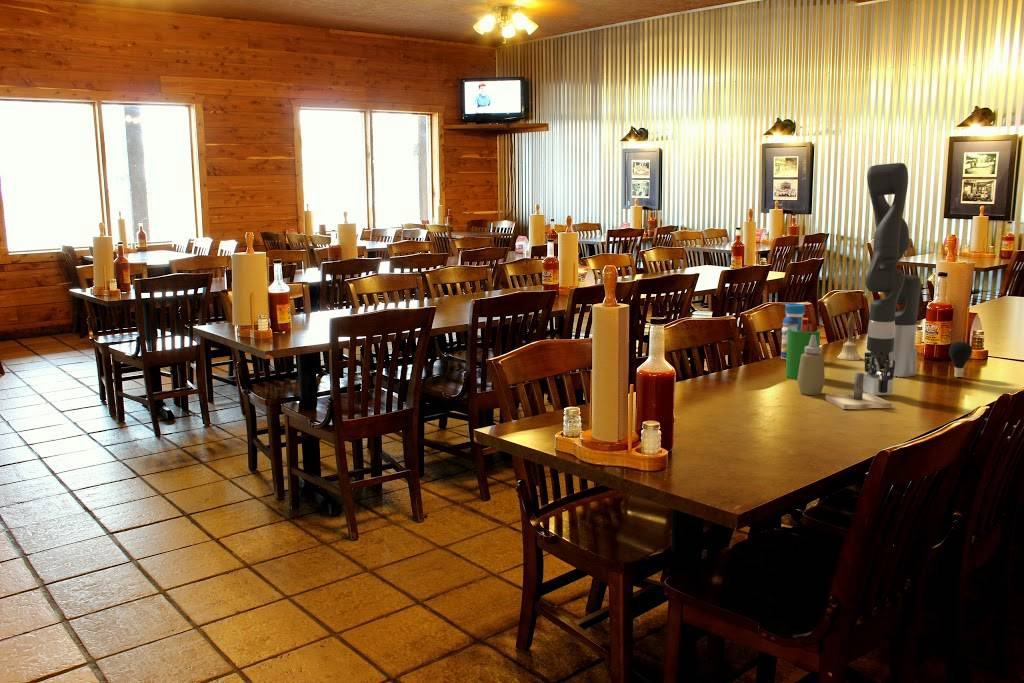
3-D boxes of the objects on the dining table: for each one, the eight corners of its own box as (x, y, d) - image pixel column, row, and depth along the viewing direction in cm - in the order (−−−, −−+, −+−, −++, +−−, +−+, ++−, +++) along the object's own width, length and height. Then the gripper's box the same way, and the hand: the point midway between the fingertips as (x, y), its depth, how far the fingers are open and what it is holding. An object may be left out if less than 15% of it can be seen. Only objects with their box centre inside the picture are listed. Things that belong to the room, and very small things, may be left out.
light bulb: (947, 378, 288) (950, 342, 286) (946, 374, 294) (949, 339, 292) (970, 380, 286) (973, 344, 283) (968, 376, 292) (971, 340, 290)
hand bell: (834, 355, 327) (837, 313, 324) (858, 356, 326) (861, 313, 323) (839, 360, 319) (842, 316, 316) (863, 360, 318) (866, 316, 315)
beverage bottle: (807, 361, 317) (810, 306, 313) (784, 361, 317) (786, 306, 314) (800, 356, 325) (803, 302, 322) (777, 356, 325) (780, 303, 322)
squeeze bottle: (825, 391, 272) (829, 334, 268) (822, 397, 264) (826, 338, 261) (798, 389, 275) (801, 332, 272) (794, 395, 268) (797, 336, 265)
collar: (881, 389, 271) (882, 373, 270) (892, 394, 265) (893, 378, 264) (863, 390, 270) (864, 374, 269) (872, 395, 264) (874, 379, 264)
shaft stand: (870, 398, 263) (872, 368, 262) (891, 408, 252) (893, 377, 250) (825, 399, 262) (826, 369, 260) (844, 409, 250) (846, 378, 249)
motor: (814, 374, 296) (818, 315, 292) (821, 380, 287) (824, 319, 284) (783, 374, 297) (786, 315, 293) (789, 380, 288) (792, 319, 285)
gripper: (906, 339, 258) (902, 395, 261) (880, 330, 272) (877, 384, 275) (881, 340, 257) (877, 396, 260) (857, 331, 271) (854, 385, 274)
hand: (877, 389), depth 268 cm, fingers closed on collar, 6 cm apart
